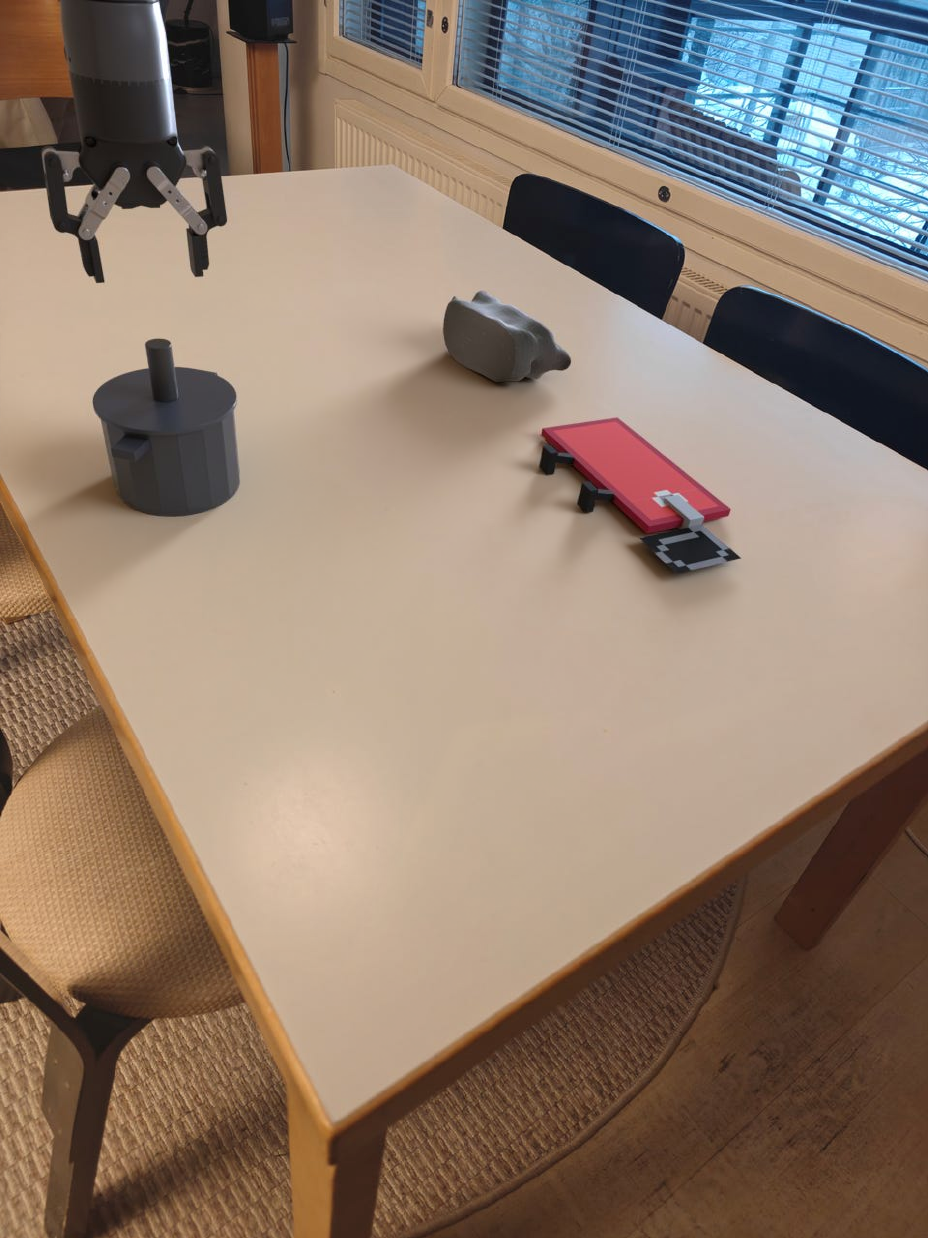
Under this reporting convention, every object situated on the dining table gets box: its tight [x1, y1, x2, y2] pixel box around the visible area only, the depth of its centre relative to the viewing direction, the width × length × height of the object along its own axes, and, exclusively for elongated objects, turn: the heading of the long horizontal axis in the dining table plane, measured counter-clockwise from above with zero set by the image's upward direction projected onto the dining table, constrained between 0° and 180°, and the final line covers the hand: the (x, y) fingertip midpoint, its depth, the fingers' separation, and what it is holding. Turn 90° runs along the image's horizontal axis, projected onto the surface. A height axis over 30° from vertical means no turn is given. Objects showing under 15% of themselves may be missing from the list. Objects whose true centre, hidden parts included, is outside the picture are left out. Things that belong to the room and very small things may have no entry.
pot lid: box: [92, 338, 238, 435], centre depth 84 cm, size 14×14×7 cm
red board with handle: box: [538, 416, 742, 575], centre depth 97 cm, size 30×3×15 cm
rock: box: [442, 290, 572, 383], centre depth 119 cm, size 18×11×8 cm, turn 40°
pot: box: [100, 368, 241, 517], centre depth 89 cm, size 13×18×10 cm
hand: (149, 276), depth 78 cm, fingers open, 8 cm apart
